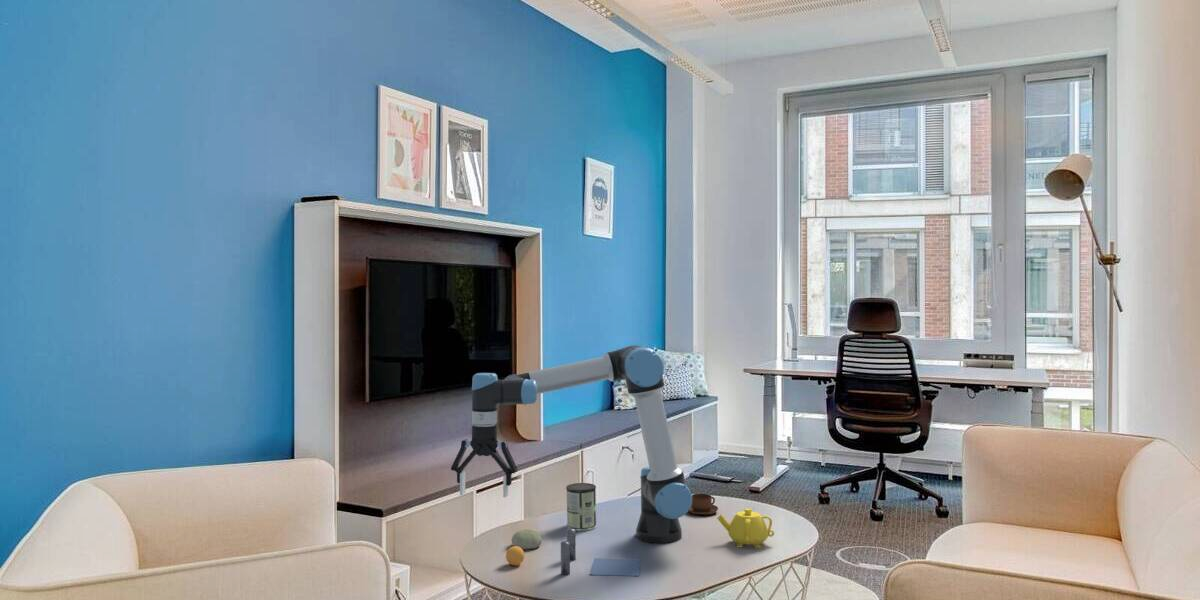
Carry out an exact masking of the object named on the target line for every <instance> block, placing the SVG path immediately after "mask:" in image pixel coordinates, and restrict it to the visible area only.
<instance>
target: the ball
mask: <svg viewBox="0 0 1200 600" xmlns="http://www.w3.org/2000/svg"><path fill="white" fill-rule="evenodd" d="M505 559H506V562H507V563H508V564H509V565H511V566H519V565H521V564H522V563H523V562H524V559H525V552H524V549H522V548H520V547H518V546H514V545H512V546H510V547H509V548H508V549H507V550H506V553H505Z"/></svg>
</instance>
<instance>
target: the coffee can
mask: <svg viewBox="0 0 1200 600" xmlns="http://www.w3.org/2000/svg"><path fill="white" fill-rule="evenodd" d="M565 489H566V521H567V522H566V527H567V528H566V529H569V528H574V529H575V532H586V531H591V530H594V529H596V528H597V503H596V501H597V500H596V496H597V495H596V489H597V487H596V485H595V484H593V483H590V482H589V483H588V482H575V483H571V484H567V485H566V487H565Z"/></svg>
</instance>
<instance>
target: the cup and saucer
mask: <svg viewBox="0 0 1200 600" xmlns="http://www.w3.org/2000/svg"><path fill="white" fill-rule="evenodd" d="M712 500H713V501H712ZM715 502H716V498H715V497H714V496H712V495H710V494H707V493H695V494H692V504H691V507H690V509H689V510H688V512H687V513H690V514H693V515H697V516H708V515H713V514H715V513H716V512H718V510H719V507H718V506H717V505H714V504H715Z"/></svg>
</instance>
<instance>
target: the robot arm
mask: <svg viewBox="0 0 1200 600" xmlns="http://www.w3.org/2000/svg"><path fill="white" fill-rule="evenodd" d="M664 372H665V366H664V361H663V359H662V356H660V355H659V353H658V352H657V351H655V350H654V349H652V348H650V347H647V346H640V345H637V344H636V345H630V346H629V345H628V346H626V347H622V348H619V349H616V350H612V351H607V352H604V354H603V356H600V357H595V358H590V359H585V360H581V361H575V362H572V363H567V364H561V365H557V366H553V367H547V368H544V369H543V368H542V369H538V370H533V371H529V372H523V373H519V374H515V373H514V374H509V375H508V376H506V377H505V378H504V379H498V374H496V373H495V372H477V373H475V374H473V376H472V381H471V382H472V383H471V384H472V385H471V424H473V425H472V426H471V440H468V439H467V438H465V439H463V440H461V443H460V449H459V451H458V453H457V454H456V457H455V459H454V460H453V463H452V465H451V467H450V470H451V471H453V472H456V483H457V484H459V496H463V495H464V494H466V471H464V470H465V468H467V466H468V465H469V464H470V463H471V462H472V460H473V459H474V458H475V456H476V455H477V456H478V457H482V456H483V457H490V456H491V458H492V459H494V460H495V462H496V463H497V464H498V465H499V467H500V468H501V470H502V471H503V472H504V474H503V475H502V476H503V479H502V480H503V481H502V485H503V488H502V489H503V490H502V493H503V494H502V495H503V496H502V497H503V498H507V496H509V486H511V485H512V480H513V479H512V474H516V472H518V467H517V464H516V463H515V460H514V458H513V456H512V454H511V452H510V450H509V445H508V441H507V440H504V441H498V426H497V423H498V405H501V406H502V405H523V406H525V405H526V406H527V405H533V404H535V403H536V402H537V397H538V395H540V394H544V393H550V392H555V391H560V390H563V389H567V388H574V387H579V386H583V385H587V384H591V383H596V382H602V381H607V380H608V381H609V382H616V381H625V384H626V388H627V394H629V396H632V397H633V398H634V403H635V407H636V411H637V412H636V413H637V417H638V421H639V426H640V429H641V430H640V431H641V436H642V439H643V444H644V448H645V452H646V457H647V458H646V459H647V463H648V466H645V467H642V469H641V470H640V476H639V477H640V506H641V507H640V509H641V511H640V515H639V519H638V522H637V526H636V528H635V536H636V538H637V539H638V540H641V541H644V542H649V543H658V544H659V543H663V544H664V543H672V542H676V541H678V540H680V539H682V536H683V530H682V527H681V524H680V519H679V518H682V517H684V515H686V514H687V513H689V512H688V510H689V509H690V507H691V504H692V495H693V494H692V493H691V491H690V488H689V487H688V486H687V483H686V479H685V475H684V470H683V468H681V467H680V466H678V464H677V459H676V455H675V451H674V446H673V443H672V442H673V441H672V437H671V432H670V428H669V422H668V418H667V414H666V409H665V406H664V405H665V403H664V400H663V394H662V391H663V390H664V388H665V381H664V377H663V376H664ZM469 447H471V448H472V451H471V452H470V453H469V455H468V456H467V457H466V458H465V459H464V460H463V462H462V463H461V461H462V459H463V457H464V455H465V453H466V451H467V448H469ZM498 447H499V449H500V450H501V452H502V454H503V456H504V458H505V460H506V461H505V460H504V459H503V457H502V456H501V455H500V453H499V451H498V450H497V448H498ZM460 463H461V464H460Z"/></svg>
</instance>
